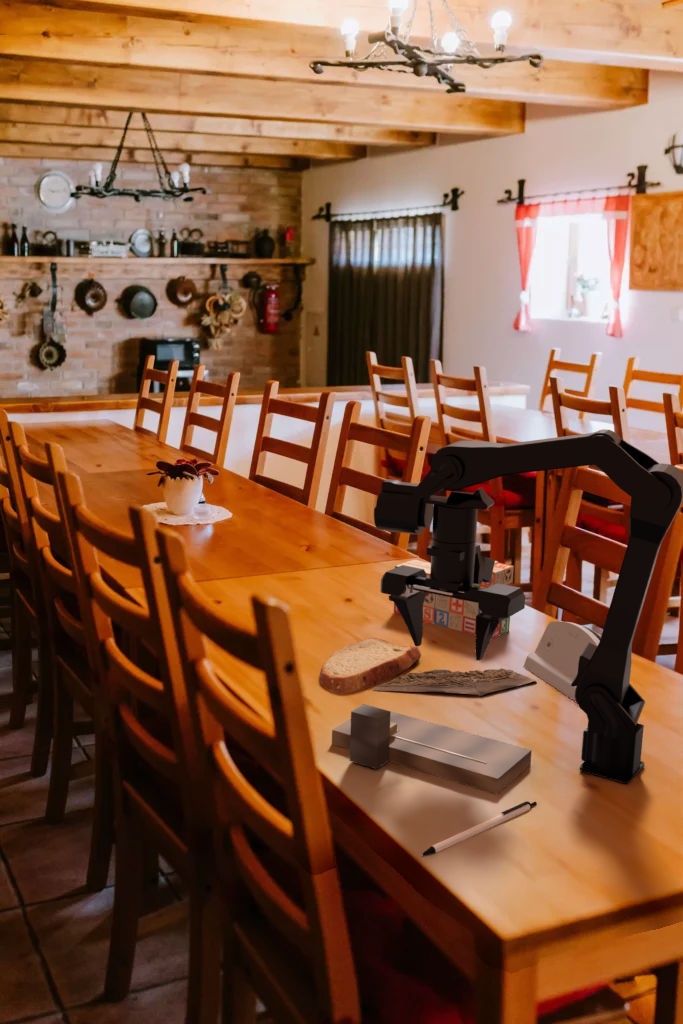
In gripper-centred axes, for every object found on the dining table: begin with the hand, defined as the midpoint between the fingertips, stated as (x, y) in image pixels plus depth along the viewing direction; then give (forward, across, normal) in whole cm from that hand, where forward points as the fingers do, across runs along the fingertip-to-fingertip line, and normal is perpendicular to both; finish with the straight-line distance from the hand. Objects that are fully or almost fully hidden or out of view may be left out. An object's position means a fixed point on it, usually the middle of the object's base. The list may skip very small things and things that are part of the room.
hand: (448, 652), depth 144 cm
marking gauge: (+12, +4, +11) cm, 16 cm away
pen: (+12, -15, +20) cm, 28 cm away
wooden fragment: (+13, +8, -18) cm, 23 cm away
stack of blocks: (+12, +23, -45) cm, 52 cm away
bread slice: (+13, +21, -16) cm, 29 cm away
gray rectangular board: (+12, -1, +6) cm, 13 cm away
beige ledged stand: (+12, -6, -30) cm, 33 cm away
